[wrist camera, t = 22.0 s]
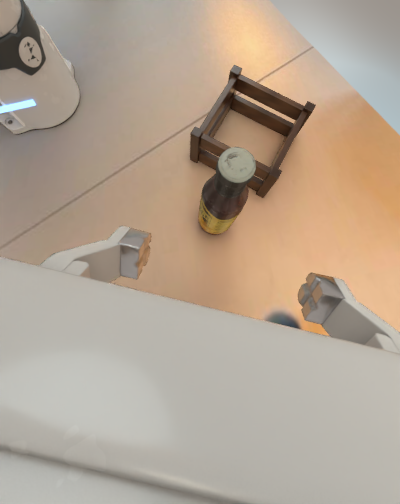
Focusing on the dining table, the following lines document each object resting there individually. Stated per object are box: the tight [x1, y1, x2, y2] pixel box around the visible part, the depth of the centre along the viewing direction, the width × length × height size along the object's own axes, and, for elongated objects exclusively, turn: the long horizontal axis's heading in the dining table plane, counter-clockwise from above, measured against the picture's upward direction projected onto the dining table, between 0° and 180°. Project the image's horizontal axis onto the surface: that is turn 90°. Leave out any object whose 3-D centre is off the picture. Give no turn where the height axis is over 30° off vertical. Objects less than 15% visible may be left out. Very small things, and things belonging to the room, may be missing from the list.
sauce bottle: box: [198, 147, 256, 235], centre depth 33 cm, size 6×6×20 cm
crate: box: [190, 65, 316, 197], centre depth 42 cm, size 16×16×7 cm
